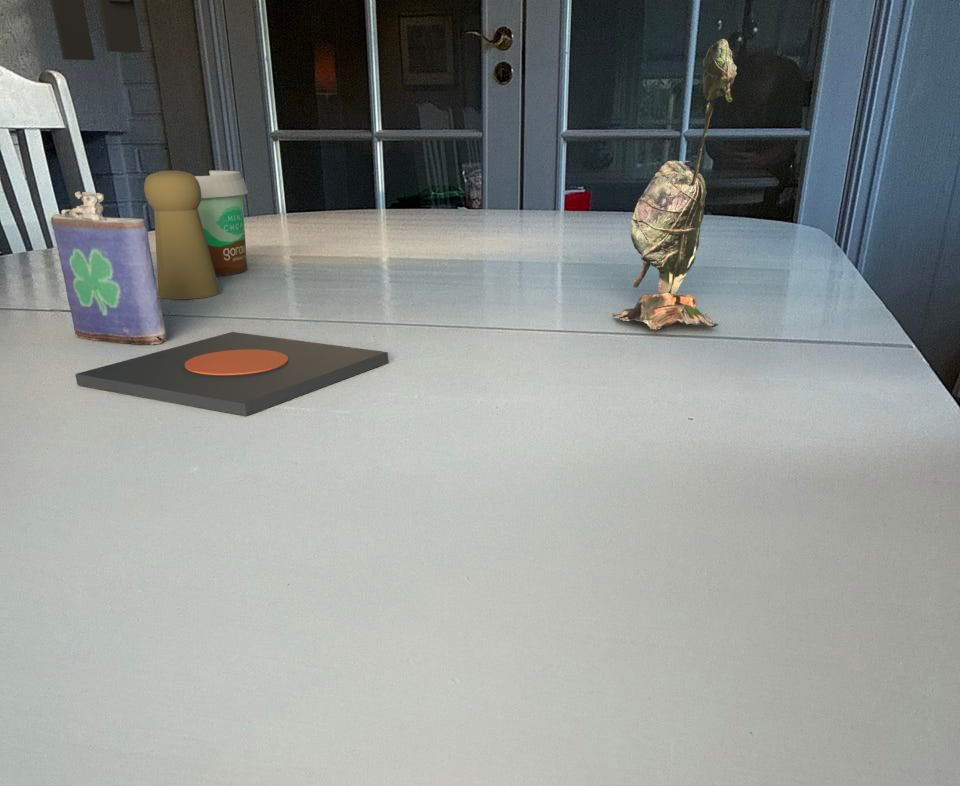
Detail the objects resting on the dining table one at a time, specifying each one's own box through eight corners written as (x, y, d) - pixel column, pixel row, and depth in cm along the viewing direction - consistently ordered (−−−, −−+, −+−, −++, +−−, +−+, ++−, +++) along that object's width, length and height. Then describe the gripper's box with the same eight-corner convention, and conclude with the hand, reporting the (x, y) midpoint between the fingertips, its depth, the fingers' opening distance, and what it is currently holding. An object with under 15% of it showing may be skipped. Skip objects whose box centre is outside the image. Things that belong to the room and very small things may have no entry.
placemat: (77, 385, 60) (73, 372, 60) (233, 341, 71) (232, 330, 71) (245, 416, 54) (243, 401, 53) (389, 363, 65) (388, 350, 64)
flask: (174, 340, 72) (147, 191, 67) (147, 347, 70) (117, 194, 64) (92, 330, 76) (60, 188, 70) (64, 337, 73) (29, 191, 68)
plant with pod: (693, 310, 81) (722, 45, 71) (725, 336, 71) (763, 34, 61) (604, 311, 81) (620, 46, 71) (624, 338, 71) (645, 35, 61)
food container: (233, 280, 98) (218, 177, 93) (180, 279, 98) (162, 177, 93) (273, 263, 108) (262, 170, 103) (224, 262, 109) (211, 170, 104)
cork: (204, 286, 94) (186, 168, 89) (230, 294, 90) (213, 170, 85) (149, 293, 91) (126, 171, 85) (173, 301, 87) (151, 173, 81)
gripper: (139, -313, 63) (193, 48, 74) (46, -219, 80) (101, 63, 91) (26, -339, 59) (100, 46, 70) (-46, -234, 77) (22, 61, 87)
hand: (100, 56), depth 81 cm, fingers open, 13 cm apart
